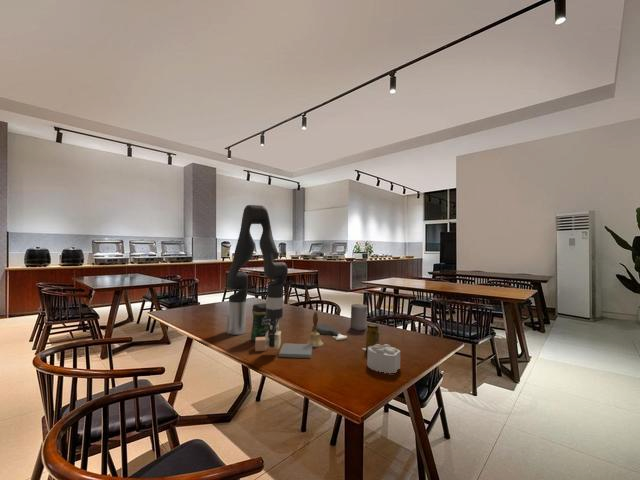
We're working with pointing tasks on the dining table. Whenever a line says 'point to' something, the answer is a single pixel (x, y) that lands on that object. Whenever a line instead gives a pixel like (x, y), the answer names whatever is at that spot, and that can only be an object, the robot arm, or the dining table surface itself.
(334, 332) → the spray bottle
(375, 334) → the condiment
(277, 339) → the birch cube
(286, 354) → the slate tile
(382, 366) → the lumpy-topped squat cylinder
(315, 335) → the hand bell
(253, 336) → the coffee jar
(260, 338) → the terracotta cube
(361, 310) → the pillar candle
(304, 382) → the dining table surface
